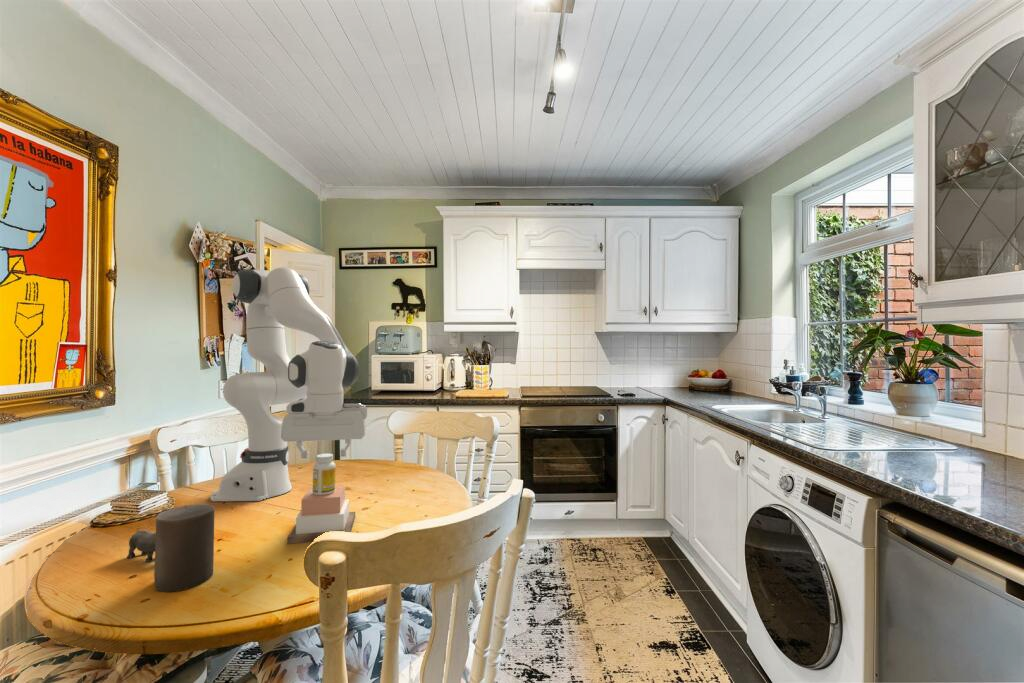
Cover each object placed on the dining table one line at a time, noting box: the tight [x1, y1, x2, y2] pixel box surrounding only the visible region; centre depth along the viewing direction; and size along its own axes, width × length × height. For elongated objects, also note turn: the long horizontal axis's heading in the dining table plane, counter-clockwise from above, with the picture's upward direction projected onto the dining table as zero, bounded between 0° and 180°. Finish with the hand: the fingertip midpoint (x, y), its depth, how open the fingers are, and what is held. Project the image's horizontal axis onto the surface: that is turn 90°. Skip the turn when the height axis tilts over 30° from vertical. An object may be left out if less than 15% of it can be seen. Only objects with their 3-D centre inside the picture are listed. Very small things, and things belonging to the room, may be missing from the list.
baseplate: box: [286, 511, 356, 545], centre depth 115 cm, size 14×14×2 cm
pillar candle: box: [153, 503, 215, 593], centre depth 90 cm, size 10×10×15 cm
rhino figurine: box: [126, 529, 156, 563], centre depth 99 cm, size 4×14×6 cm, turn 74°
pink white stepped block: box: [295, 485, 350, 534], centre depth 115 cm, size 11×11×8 cm
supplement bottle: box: [312, 453, 336, 495], centre depth 115 cm, size 5×5×10 cm
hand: (324, 457), depth 115 cm, fingers open, 8 cm apart
